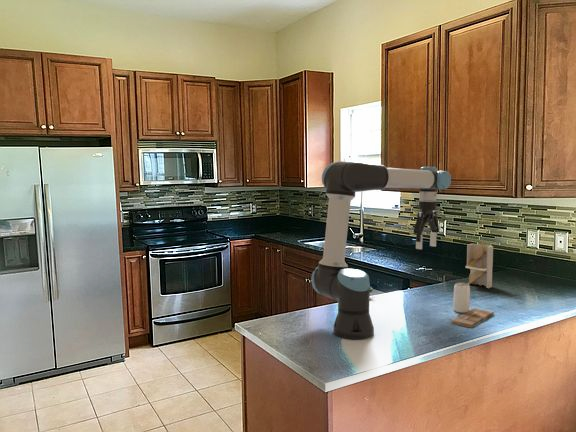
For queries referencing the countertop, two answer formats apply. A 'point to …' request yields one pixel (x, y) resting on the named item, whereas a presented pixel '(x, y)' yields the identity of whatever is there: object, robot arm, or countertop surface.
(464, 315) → the walnut board
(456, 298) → the can
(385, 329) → the countertop surface
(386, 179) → the robot arm
